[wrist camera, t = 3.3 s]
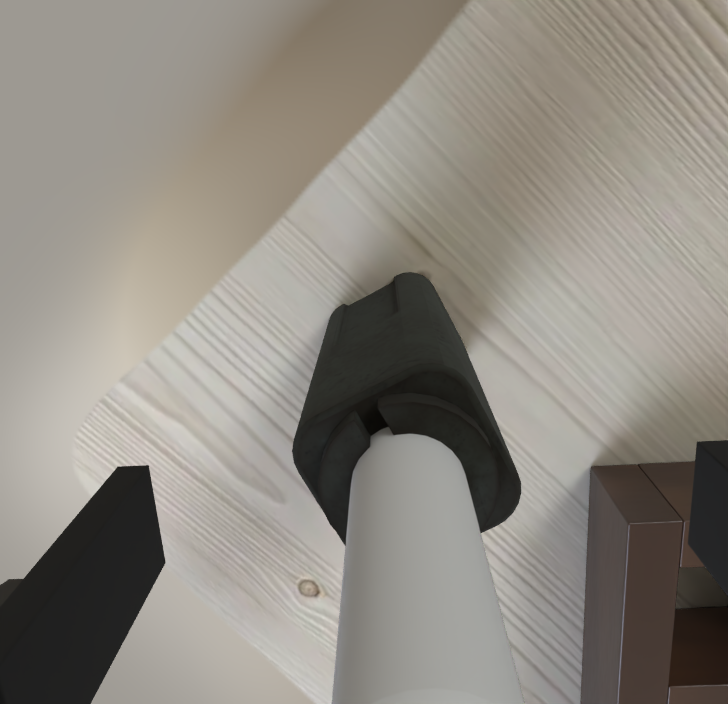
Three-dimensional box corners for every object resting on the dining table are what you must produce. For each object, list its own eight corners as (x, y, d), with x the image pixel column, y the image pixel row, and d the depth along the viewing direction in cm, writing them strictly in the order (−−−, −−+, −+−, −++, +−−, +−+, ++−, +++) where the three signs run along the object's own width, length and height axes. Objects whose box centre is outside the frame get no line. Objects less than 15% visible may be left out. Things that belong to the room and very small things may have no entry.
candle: (373, 411, 31) (348, 1351, 7) (318, 317, 29) (48, 1061, 5) (473, 361, 30) (850, 1232, 6) (420, 262, 28) (630, 857, 5)
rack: (577, 769, 37) (607, 862, 32) (589, 465, 31) (628, 523, 26) (769, 763, 36) (828, 857, 31) (816, 455, 31) (896, 511, 26)
